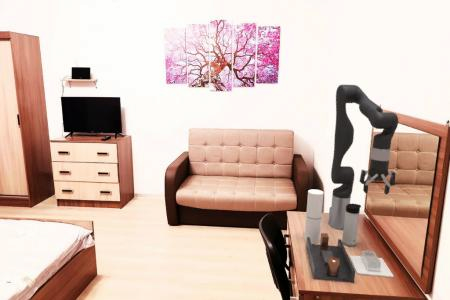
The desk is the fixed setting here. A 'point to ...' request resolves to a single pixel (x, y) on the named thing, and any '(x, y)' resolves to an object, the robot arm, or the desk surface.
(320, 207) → the cylindrical container
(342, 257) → the dark grey tray
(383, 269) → the white mat
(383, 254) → the desk surface
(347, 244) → the travel mug
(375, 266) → the grey box
